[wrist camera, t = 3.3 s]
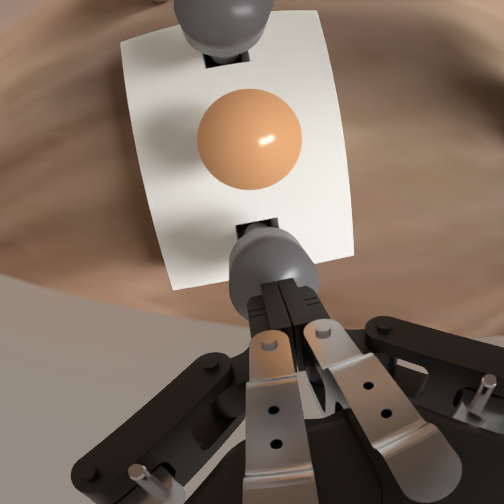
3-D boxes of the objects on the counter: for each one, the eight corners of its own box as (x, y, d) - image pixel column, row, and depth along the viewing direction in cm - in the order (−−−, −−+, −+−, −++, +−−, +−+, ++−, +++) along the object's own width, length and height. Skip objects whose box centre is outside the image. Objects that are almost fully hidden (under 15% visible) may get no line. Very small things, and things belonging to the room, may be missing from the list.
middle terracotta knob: (266, 107, 19) (292, 83, 11) (276, 166, 20) (308, 181, 12) (204, 118, 18) (188, 99, 11) (215, 178, 20) (208, 199, 12)
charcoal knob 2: (282, 201, 21) (315, 236, 13) (289, 256, 23) (321, 315, 15) (222, 212, 21) (220, 255, 13) (234, 267, 23) (239, 332, 15)
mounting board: (300, 32, 19) (316, 10, 15) (332, 235, 26) (353, 255, 21) (139, 59, 19) (120, 42, 14) (182, 264, 26) (173, 290, 21)
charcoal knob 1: (249, 23, 16) (263, -37, 8) (260, 74, 18) (281, 31, 10) (189, 33, 16) (169, -24, 8) (198, 84, 18) (179, 46, 10)
